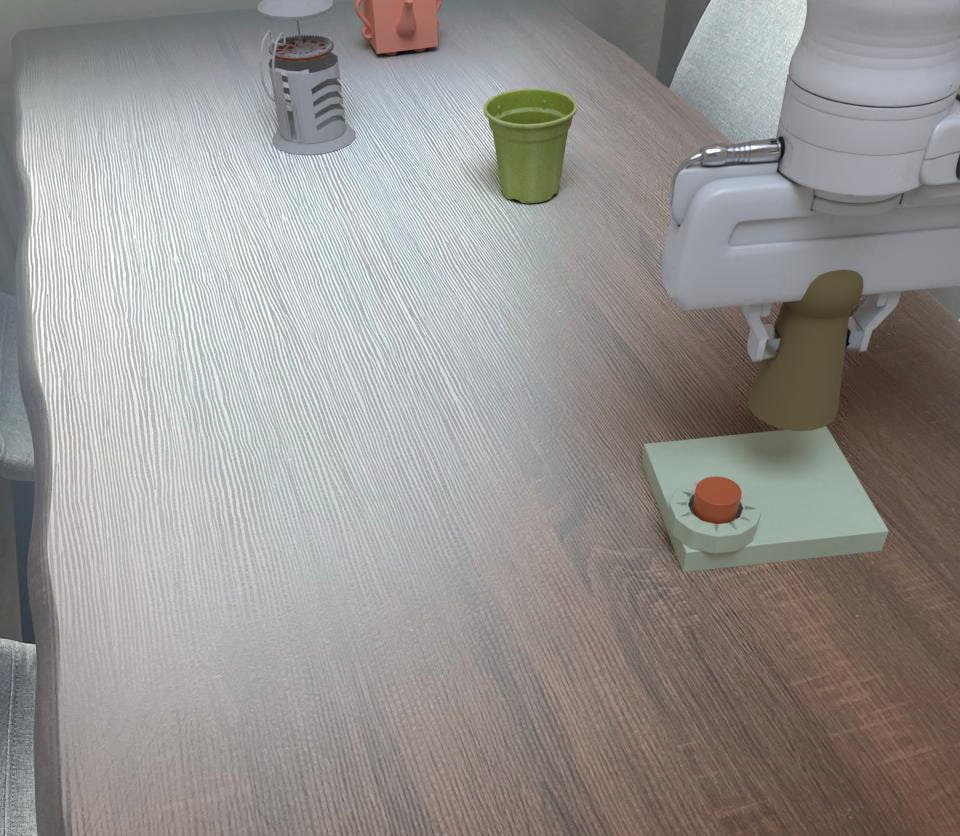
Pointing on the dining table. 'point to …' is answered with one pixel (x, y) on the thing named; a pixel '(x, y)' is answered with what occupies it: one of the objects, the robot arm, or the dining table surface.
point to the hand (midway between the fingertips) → (806, 352)
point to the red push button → (716, 500)
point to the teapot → (400, 24)
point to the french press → (305, 83)
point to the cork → (808, 356)
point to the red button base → (764, 499)
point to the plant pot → (530, 140)
